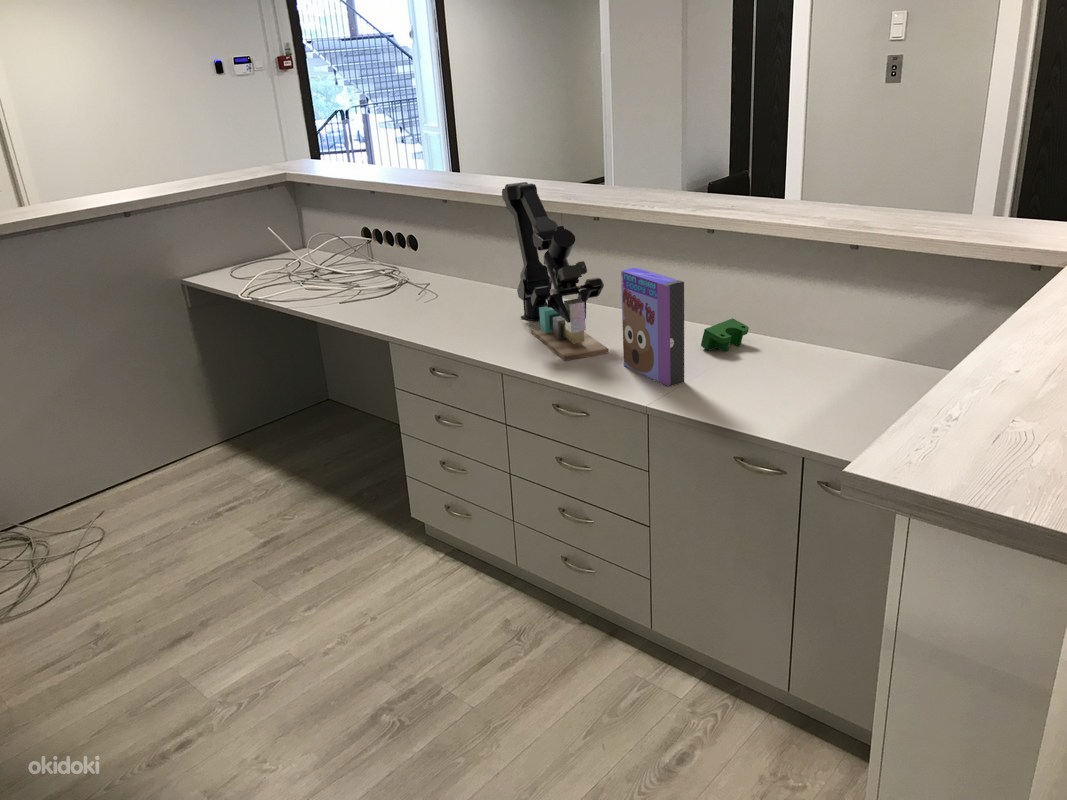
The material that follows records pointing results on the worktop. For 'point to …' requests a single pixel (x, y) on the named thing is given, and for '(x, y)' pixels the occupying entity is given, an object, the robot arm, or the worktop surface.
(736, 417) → the worktop surface
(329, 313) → the worktop surface
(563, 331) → the white-capped post
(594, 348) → the base board
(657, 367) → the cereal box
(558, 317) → the sleeve
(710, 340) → the clamp
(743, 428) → the worktop surface
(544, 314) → the socket block
